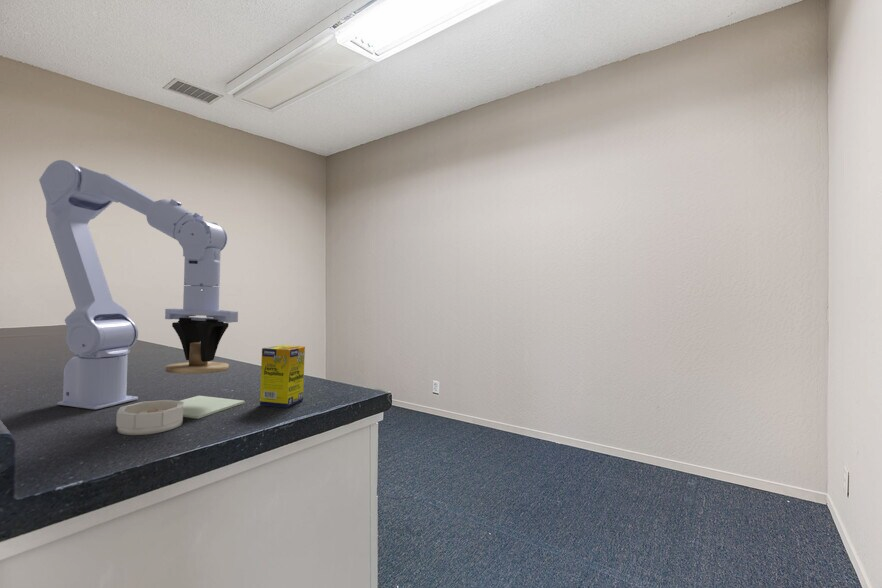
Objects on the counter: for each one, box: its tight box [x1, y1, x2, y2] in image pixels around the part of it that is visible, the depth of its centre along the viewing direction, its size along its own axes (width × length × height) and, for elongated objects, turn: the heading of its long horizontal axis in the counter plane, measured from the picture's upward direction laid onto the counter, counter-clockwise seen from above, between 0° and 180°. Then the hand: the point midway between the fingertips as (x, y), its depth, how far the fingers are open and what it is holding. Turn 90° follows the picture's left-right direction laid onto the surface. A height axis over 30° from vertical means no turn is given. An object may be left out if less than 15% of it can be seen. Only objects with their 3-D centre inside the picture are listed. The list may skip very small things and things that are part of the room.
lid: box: [164, 343, 230, 375], centre depth 77 cm, size 10×10×5 cm
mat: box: [180, 395, 246, 420], centre depth 77 cm, size 11×11×1 cm
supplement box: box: [259, 344, 306, 409], centre depth 82 cm, size 6×6×11 cm
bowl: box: [115, 399, 184, 436], centre depth 66 cm, size 8×8×3 cm
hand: (199, 360), depth 77 cm, fingers closed on lid, 3 cm apart
